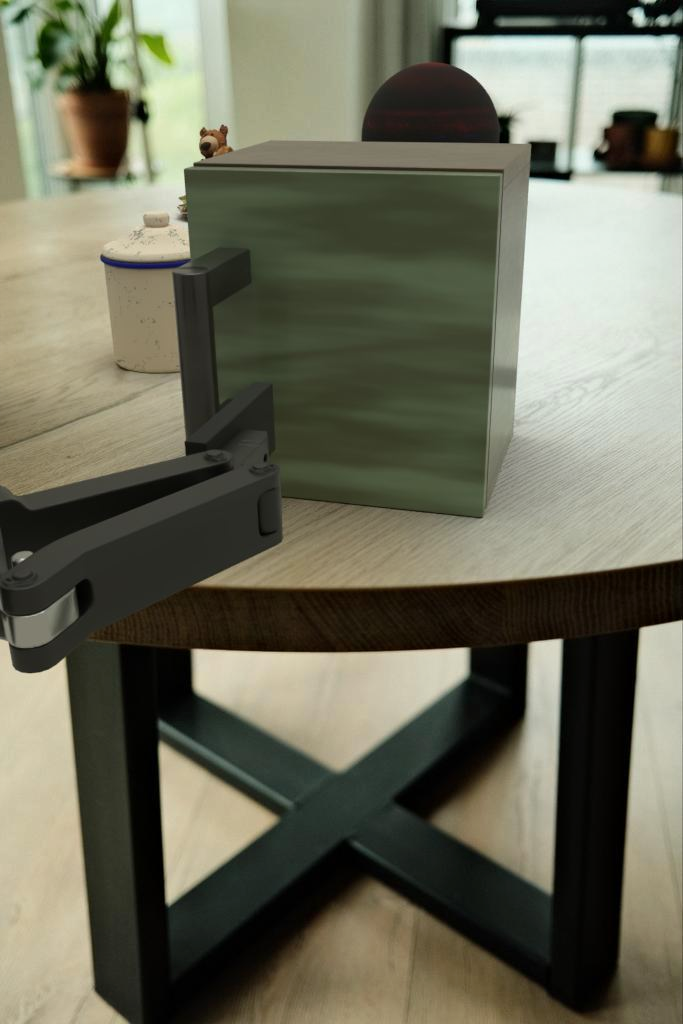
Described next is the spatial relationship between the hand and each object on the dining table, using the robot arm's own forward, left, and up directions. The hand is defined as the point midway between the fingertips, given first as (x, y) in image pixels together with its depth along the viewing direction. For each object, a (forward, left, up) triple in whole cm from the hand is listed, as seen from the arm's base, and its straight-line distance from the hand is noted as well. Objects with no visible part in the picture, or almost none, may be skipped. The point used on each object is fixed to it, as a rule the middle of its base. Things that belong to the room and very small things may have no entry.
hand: (106, 402), depth 41 cm
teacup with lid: (-17, +40, -11) cm, 45 cm away
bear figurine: (-39, +108, -11) cm, 115 cm away
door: (+5, +12, -10) cm, 17 cm away
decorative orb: (-11, +120, -11) cm, 121 cm away
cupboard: (+5, +22, -11) cm, 25 cm away
